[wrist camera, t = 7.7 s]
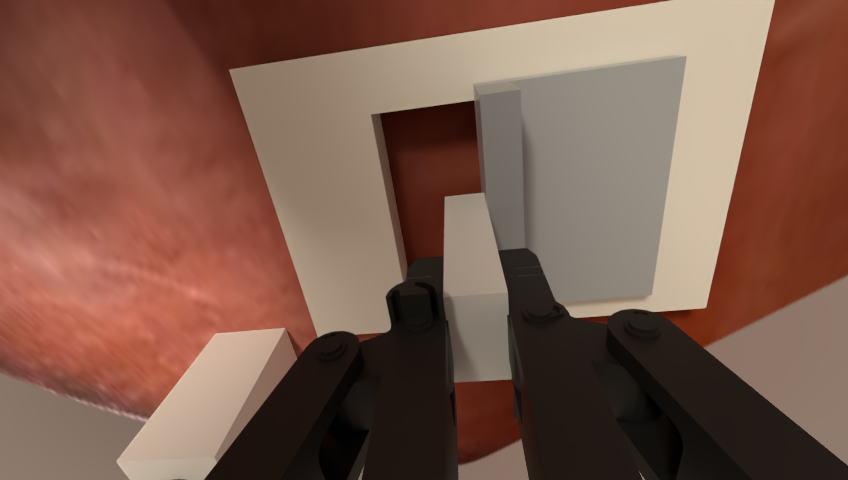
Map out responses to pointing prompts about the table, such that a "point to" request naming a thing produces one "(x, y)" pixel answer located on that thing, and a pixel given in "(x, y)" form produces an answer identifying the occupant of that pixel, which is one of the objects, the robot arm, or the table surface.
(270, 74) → the socket plate
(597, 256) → the shutter
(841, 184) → the table surface
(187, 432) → the plug
